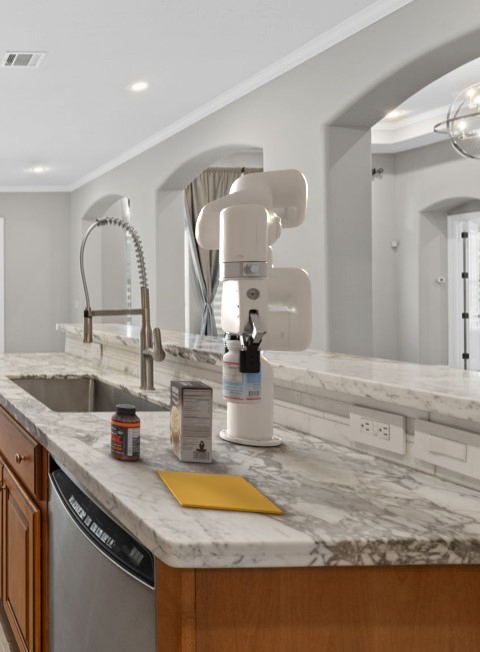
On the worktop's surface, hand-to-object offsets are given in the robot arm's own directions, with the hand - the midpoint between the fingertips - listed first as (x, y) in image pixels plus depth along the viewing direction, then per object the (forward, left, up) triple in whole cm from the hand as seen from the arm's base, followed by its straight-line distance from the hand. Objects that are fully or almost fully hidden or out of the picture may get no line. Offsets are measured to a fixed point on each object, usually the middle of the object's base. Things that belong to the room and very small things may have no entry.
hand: (241, 369), depth 100 cm
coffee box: (-18, -4, -22) cm, 28 cm away
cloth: (+4, -6, -22) cm, 23 cm away
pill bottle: (0, 0, -6) cm, 6 cm away
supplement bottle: (-14, -18, -22) cm, 31 cm away
